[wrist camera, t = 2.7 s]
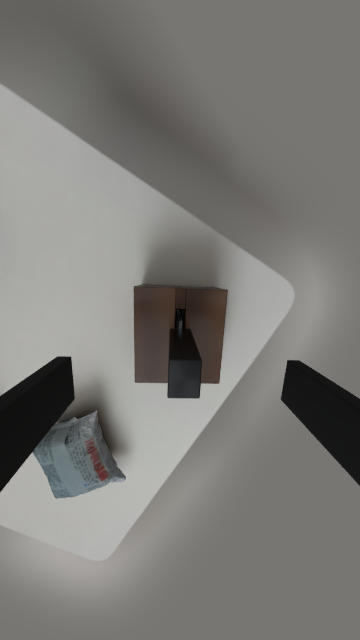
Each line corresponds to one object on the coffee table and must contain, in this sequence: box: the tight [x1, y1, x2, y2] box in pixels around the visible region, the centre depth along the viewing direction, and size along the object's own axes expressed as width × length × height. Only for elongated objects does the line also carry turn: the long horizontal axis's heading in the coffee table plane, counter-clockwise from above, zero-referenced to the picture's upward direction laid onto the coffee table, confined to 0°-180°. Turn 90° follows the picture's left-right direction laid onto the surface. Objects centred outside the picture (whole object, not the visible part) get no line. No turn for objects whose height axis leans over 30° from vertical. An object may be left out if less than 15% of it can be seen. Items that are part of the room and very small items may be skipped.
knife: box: [167, 311, 202, 398], centre depth 18 cm, size 2×4×13 cm, turn 178°
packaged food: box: [33, 410, 126, 498], centre depth 25 cm, size 9×12×5 cm
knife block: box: [134, 285, 228, 384], centre depth 22 cm, size 9×10×5 cm
